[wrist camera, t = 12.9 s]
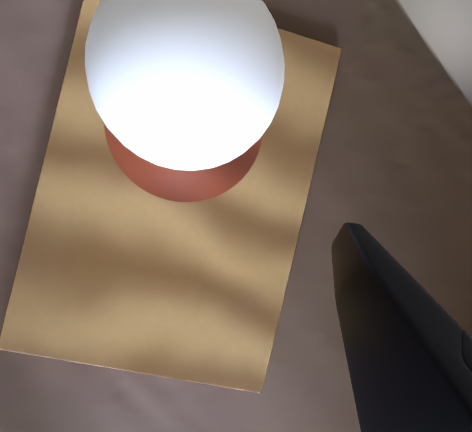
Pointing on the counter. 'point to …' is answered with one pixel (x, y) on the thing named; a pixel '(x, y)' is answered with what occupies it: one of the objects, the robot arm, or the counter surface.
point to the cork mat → (166, 238)
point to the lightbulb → (185, 77)
